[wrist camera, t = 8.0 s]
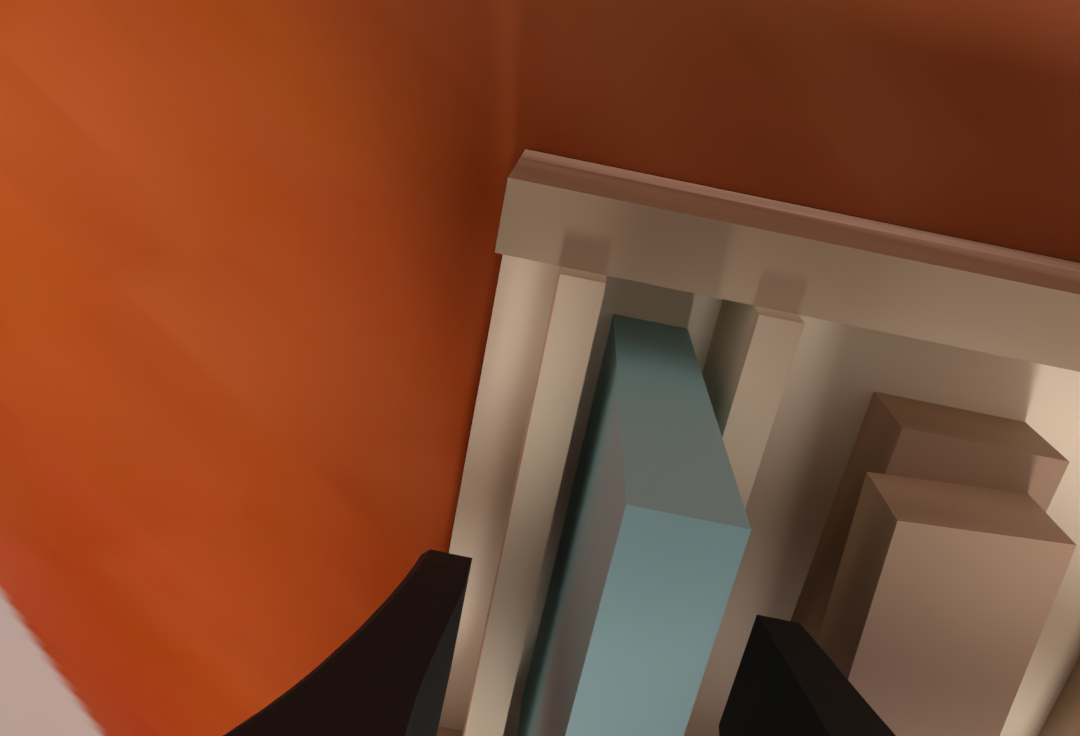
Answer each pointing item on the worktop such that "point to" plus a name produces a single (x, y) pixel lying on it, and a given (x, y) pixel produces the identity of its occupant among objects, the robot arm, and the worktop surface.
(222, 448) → the worktop surface
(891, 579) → the offcut upper
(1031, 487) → the offcut lower
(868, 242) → the rack
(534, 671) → the teal rectangular plate
